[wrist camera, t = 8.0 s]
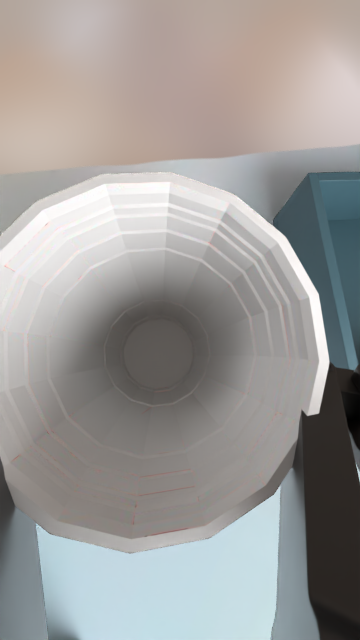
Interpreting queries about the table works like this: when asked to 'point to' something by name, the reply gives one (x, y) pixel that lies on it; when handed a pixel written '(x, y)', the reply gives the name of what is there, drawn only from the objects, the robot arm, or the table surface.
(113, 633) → the table surface
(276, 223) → the tray
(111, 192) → the plastic cup
